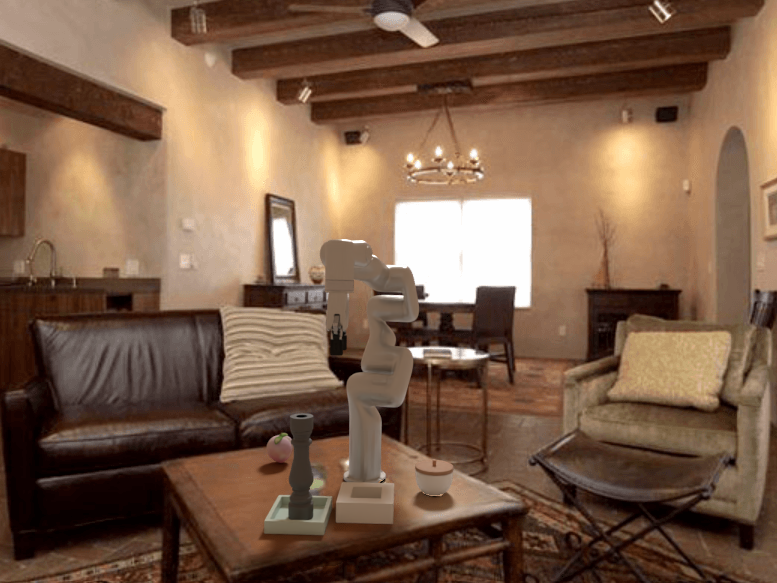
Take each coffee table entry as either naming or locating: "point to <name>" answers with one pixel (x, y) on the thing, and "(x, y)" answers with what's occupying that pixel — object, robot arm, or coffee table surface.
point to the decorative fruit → (280, 447)
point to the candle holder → (301, 468)
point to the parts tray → (283, 525)
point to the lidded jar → (434, 476)
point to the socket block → (365, 503)
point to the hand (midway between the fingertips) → (338, 352)
